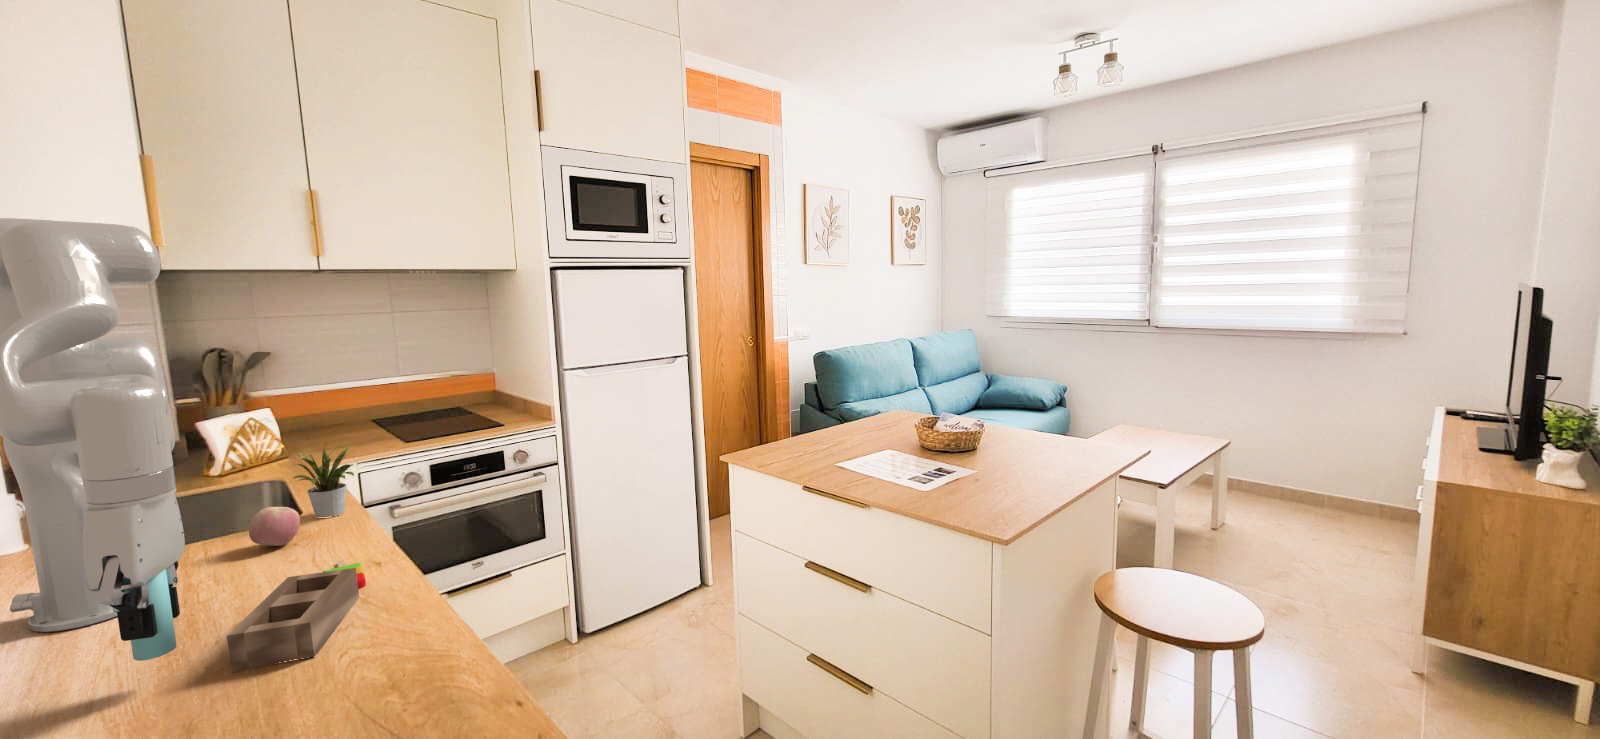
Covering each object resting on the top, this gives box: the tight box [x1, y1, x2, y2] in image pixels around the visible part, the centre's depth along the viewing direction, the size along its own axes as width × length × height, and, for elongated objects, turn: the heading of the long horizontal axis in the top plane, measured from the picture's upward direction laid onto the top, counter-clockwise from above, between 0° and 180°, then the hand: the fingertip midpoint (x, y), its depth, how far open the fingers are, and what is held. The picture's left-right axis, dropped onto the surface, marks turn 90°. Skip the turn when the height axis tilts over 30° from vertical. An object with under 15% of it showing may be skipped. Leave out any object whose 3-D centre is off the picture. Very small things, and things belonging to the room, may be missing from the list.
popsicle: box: [322, 559, 367, 590], centre depth 109 cm, size 6×15×2 cm, turn 39°
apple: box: [248, 506, 301, 547], centre depth 123 cm, size 8×8×8 cm
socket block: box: [226, 568, 360, 673], centre depth 91 cm, size 9×18×5 cm, turn 19°
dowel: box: [123, 569, 177, 661], centre depth 78 cm, size 4×4×11 cm
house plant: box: [276, 443, 356, 517], centre depth 139 cm, size 14×14×16 cm
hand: (151, 626), depth 78 cm, fingers closed on dowel, 3 cm apart
